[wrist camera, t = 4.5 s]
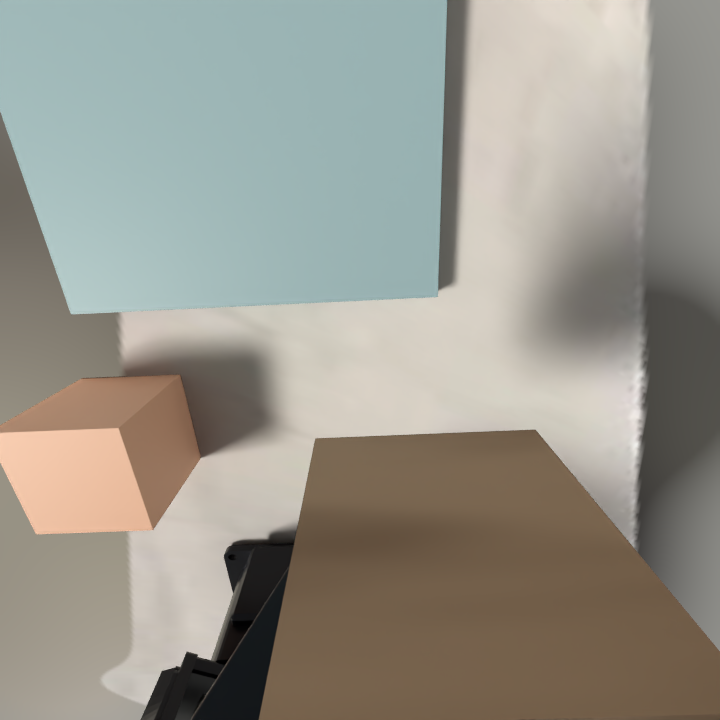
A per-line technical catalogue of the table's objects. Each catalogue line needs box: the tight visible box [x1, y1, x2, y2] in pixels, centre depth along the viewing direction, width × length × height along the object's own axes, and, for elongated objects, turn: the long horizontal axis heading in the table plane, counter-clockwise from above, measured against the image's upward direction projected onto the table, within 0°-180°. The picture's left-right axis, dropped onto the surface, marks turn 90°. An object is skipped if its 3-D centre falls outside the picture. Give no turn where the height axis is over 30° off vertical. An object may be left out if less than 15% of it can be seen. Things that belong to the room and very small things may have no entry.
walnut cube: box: [259, 430, 720, 720], centre depth 7 cm, size 5×5×5 cm
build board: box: [0, 0, 447, 314], centre depth 13 cm, size 16×16×1 cm
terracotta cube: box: [0, 375, 201, 534], centre depth 17 cm, size 5×5×5 cm
